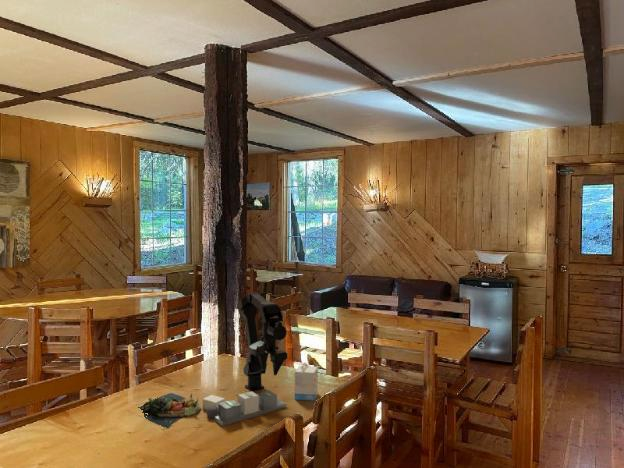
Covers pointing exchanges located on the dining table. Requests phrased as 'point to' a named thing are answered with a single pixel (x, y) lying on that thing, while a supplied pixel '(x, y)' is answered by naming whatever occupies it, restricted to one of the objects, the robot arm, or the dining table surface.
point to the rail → (232, 413)
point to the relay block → (212, 401)
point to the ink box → (306, 382)
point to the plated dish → (169, 409)
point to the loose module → (248, 402)
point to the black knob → (212, 412)
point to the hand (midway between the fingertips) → (269, 371)
